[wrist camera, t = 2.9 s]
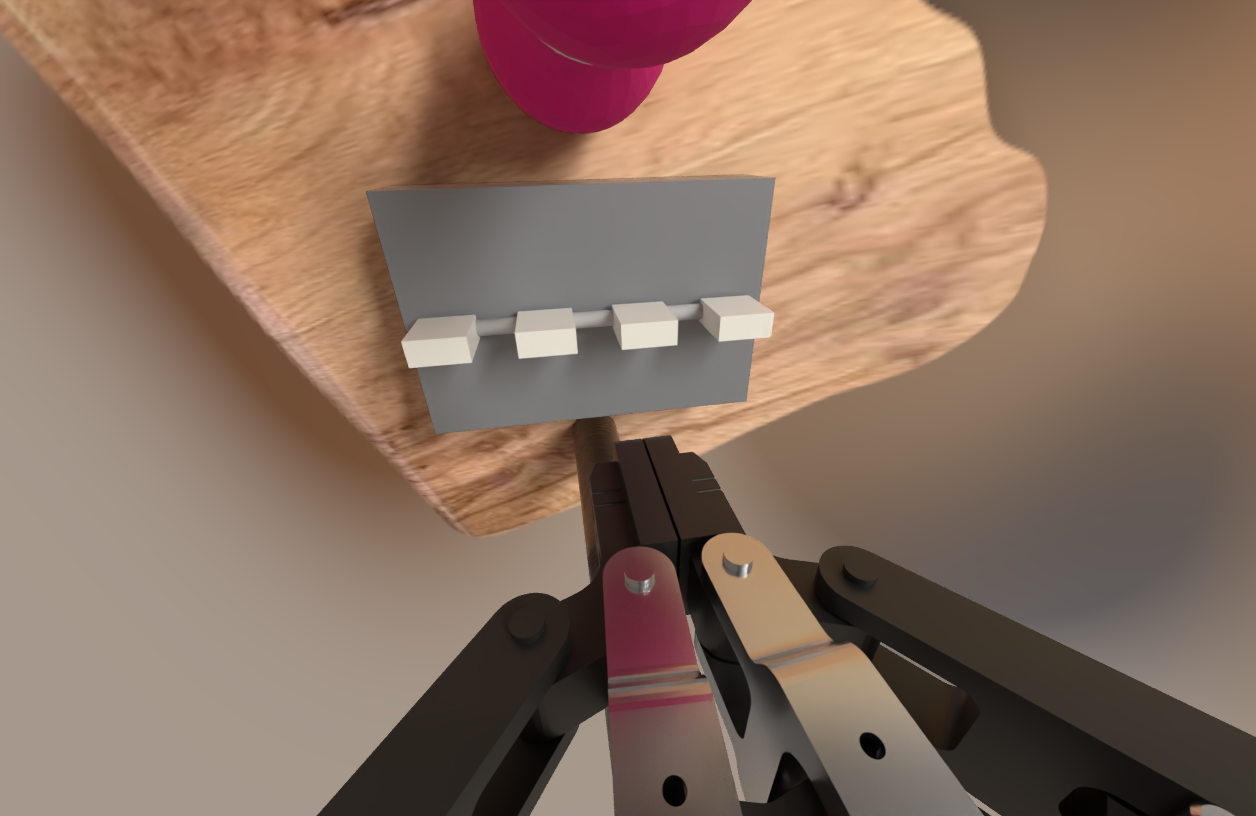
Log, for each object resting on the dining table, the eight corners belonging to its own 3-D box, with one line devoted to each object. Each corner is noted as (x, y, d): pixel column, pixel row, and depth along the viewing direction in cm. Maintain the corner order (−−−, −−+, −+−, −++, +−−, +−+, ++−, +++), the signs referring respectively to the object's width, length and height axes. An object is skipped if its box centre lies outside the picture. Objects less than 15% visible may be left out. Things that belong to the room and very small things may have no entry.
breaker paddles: (419, 317, 21) (400, 341, 18) (746, 294, 23) (774, 312, 20) (425, 341, 22) (408, 368, 19) (744, 316, 24) (770, 337, 21)
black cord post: (582, 406, 29) (656, 848, 11) (622, 419, 31) (754, 843, 12) (566, 442, 31) (606, 897, 12) (605, 453, 32) (699, 888, 13)
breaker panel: (393, 185, 22) (365, 191, 18) (742, 174, 24) (775, 177, 21) (448, 399, 28) (435, 434, 24) (722, 373, 30) (746, 401, 27)
